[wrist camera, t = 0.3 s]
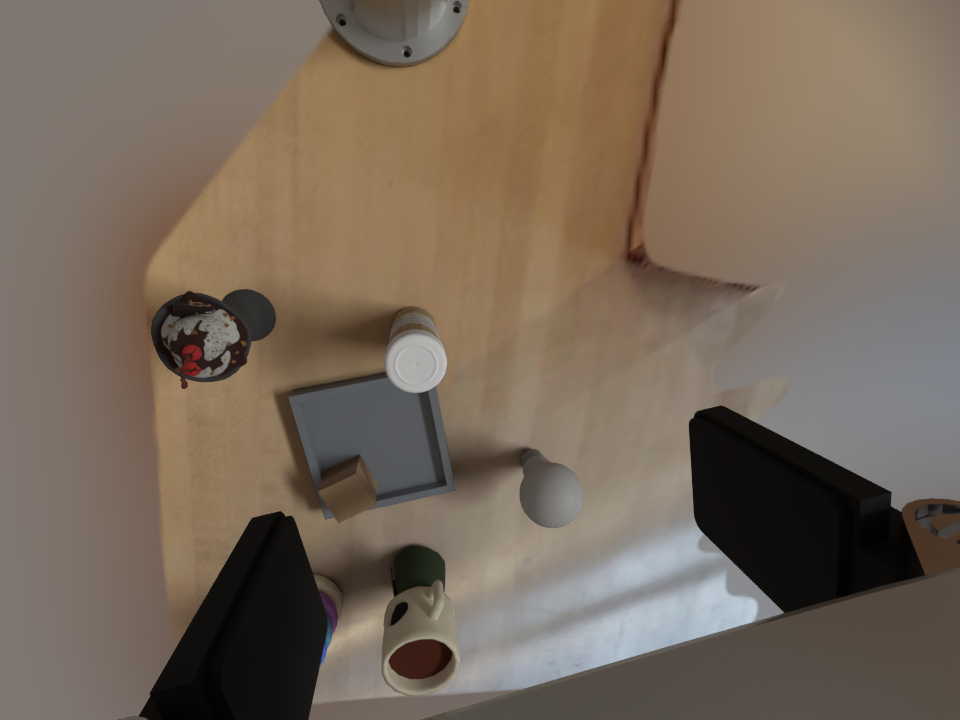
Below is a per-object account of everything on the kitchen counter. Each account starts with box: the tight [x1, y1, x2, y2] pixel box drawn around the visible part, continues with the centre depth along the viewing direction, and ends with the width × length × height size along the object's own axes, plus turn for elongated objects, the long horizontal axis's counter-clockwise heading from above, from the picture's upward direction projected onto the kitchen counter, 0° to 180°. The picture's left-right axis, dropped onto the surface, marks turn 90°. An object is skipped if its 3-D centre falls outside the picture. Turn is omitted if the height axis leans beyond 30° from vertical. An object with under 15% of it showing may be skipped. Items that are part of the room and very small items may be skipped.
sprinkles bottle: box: [384, 307, 447, 393], centre depth 39 cm, size 5×5×14 cm
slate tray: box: [288, 372, 456, 519], centre depth 47 cm, size 14×14×2 cm
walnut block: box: [318, 455, 378, 523], centre depth 46 cm, size 4×4×4 cm
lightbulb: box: [520, 449, 583, 528], centre depth 46 cm, size 6×6×11 cm
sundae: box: [151, 289, 276, 389], centre depth 35 cm, size 7×7×15 cm
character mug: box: [382, 546, 460, 696], centre depth 47 cm, size 11×7×13 cm, turn 158°
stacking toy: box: [313, 574, 343, 666], centre depth 43 cm, size 8×8×19 cm
